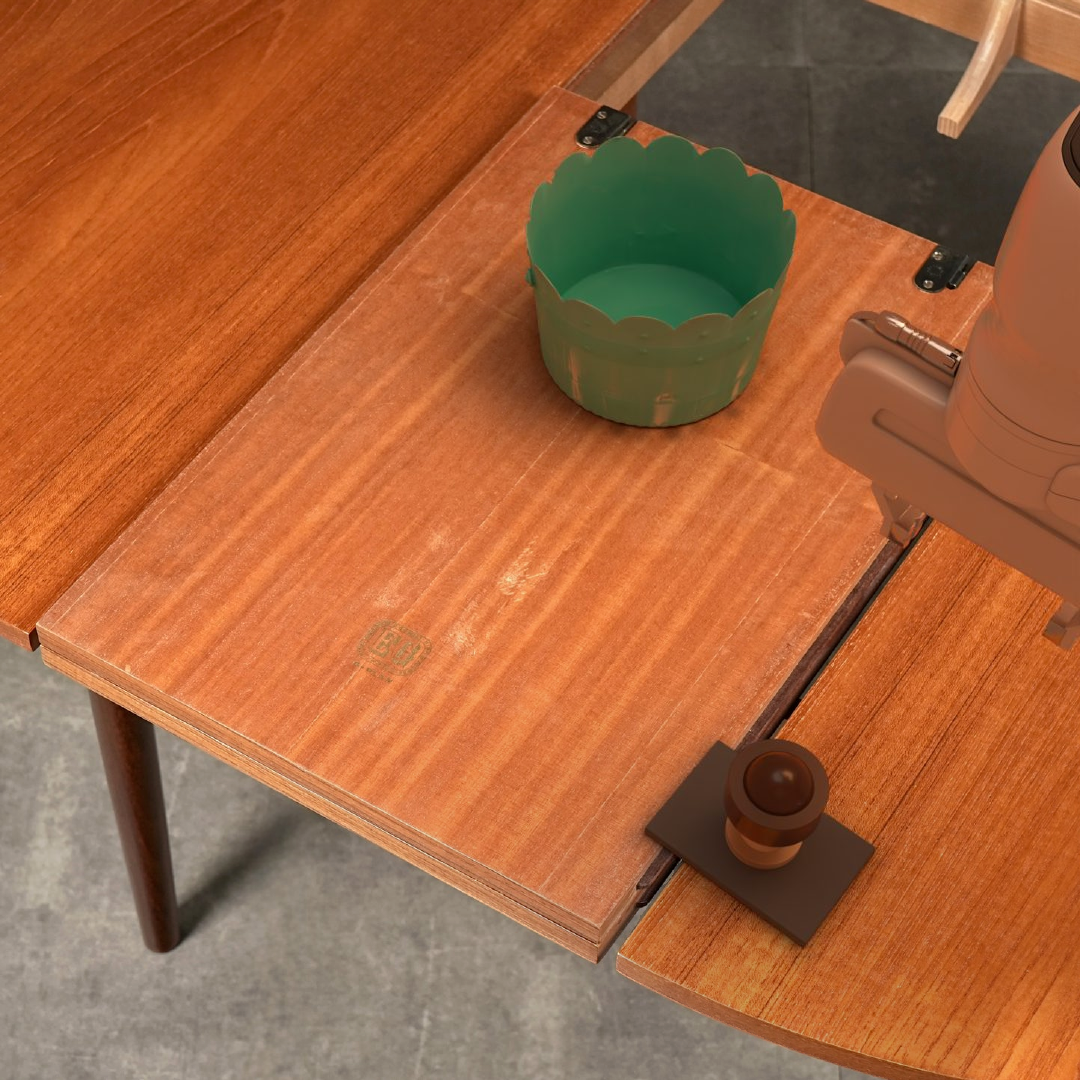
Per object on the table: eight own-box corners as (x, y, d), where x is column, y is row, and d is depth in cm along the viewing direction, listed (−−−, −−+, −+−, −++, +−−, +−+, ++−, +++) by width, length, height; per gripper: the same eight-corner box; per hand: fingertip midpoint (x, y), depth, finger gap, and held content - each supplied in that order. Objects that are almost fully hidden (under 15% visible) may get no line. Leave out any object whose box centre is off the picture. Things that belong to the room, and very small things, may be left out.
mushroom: (801, 786, 108) (823, 721, 101) (820, 874, 104) (843, 813, 97) (708, 794, 107) (723, 729, 100) (723, 882, 104) (740, 822, 97)
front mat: (874, 852, 106) (876, 847, 105) (803, 948, 102) (805, 943, 102) (716, 744, 110) (718, 738, 109) (643, 832, 106) (644, 827, 106)
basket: (522, 435, 124) (525, 315, 114) (522, 254, 135) (525, 129, 124) (783, 437, 125) (810, 318, 114) (762, 257, 135) (785, 133, 125)
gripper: (814, 333, 76) (772, 513, 87) (1233, 579, 69) (1127, 741, 80) (890, 255, 79) (840, 439, 90) (1299, 484, 72) (1189, 653, 83)
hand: (978, 583), depth 85 cm, fingers open, 8 cm apart
